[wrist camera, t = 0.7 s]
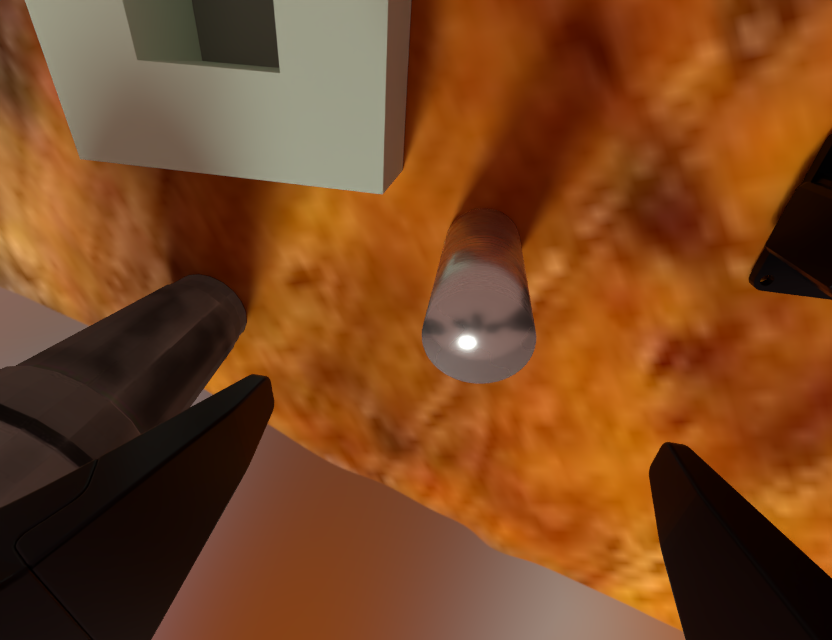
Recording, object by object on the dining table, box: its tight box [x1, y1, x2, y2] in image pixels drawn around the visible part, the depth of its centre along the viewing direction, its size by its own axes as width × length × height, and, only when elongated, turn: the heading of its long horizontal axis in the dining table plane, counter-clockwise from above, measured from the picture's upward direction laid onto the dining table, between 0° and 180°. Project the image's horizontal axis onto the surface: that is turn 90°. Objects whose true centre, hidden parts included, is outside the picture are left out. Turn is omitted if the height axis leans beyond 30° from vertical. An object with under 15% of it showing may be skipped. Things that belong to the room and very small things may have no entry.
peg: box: [422, 208, 536, 383], centre depth 16 cm, size 4×4×8 cm
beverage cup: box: [0, 274, 247, 507], centre depth 16 cm, size 7×7×20 cm
